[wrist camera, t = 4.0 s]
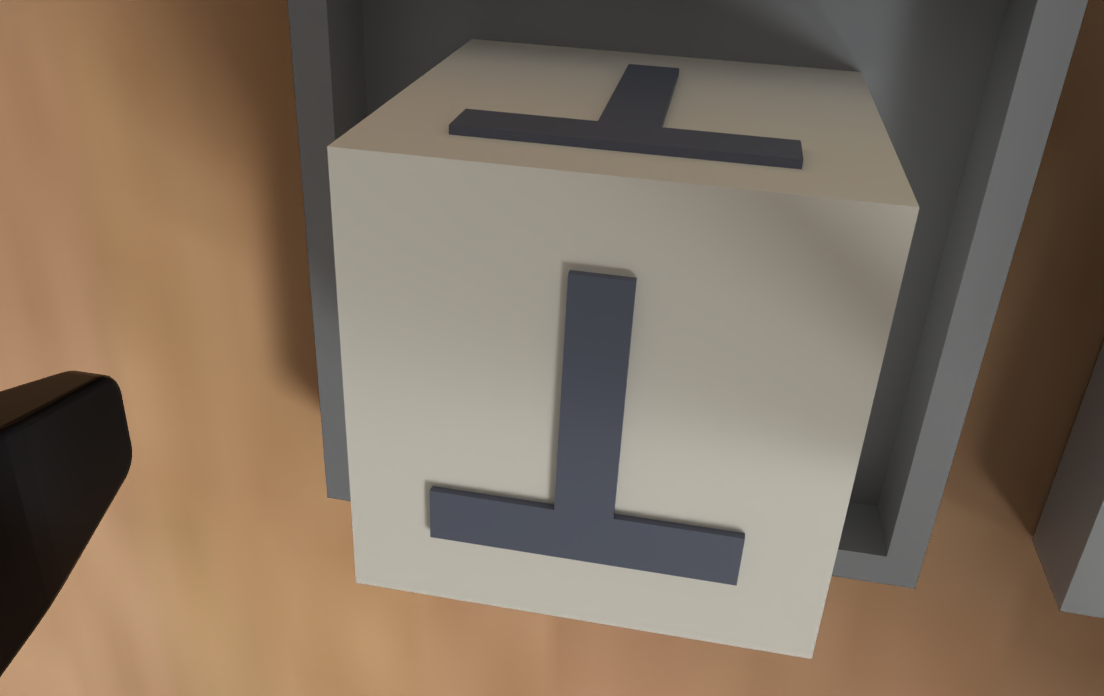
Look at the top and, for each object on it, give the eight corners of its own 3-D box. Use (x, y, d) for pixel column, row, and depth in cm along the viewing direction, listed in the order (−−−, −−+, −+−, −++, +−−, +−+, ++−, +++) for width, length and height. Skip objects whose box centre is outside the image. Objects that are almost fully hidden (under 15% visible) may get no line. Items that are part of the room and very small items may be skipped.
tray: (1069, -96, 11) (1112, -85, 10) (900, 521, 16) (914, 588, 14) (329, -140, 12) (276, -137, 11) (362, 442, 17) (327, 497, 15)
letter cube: (862, 64, 12) (924, 201, 8) (795, 411, 15) (811, 666, 10) (472, 31, 13) (322, 138, 8) (470, 367, 15) (353, 588, 11)
